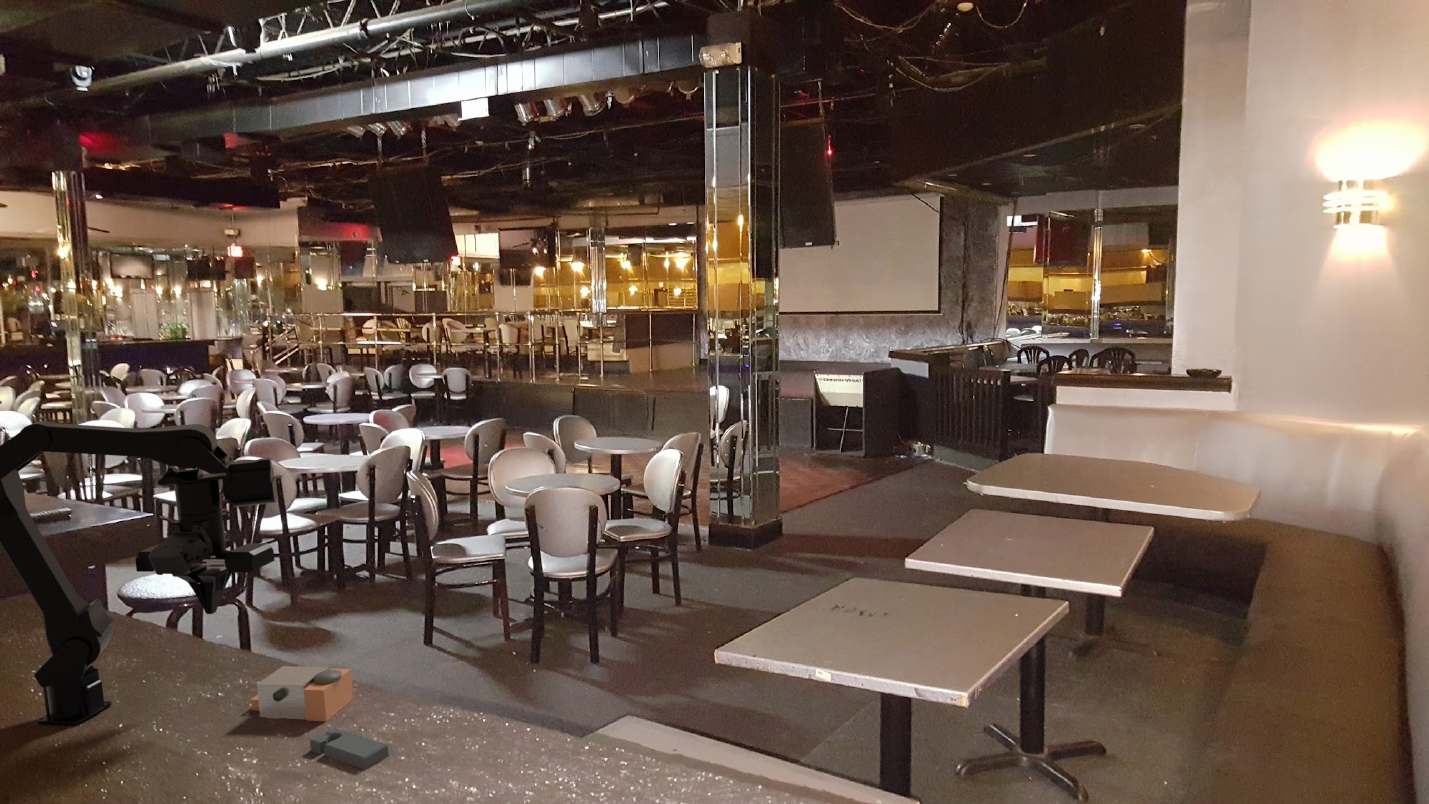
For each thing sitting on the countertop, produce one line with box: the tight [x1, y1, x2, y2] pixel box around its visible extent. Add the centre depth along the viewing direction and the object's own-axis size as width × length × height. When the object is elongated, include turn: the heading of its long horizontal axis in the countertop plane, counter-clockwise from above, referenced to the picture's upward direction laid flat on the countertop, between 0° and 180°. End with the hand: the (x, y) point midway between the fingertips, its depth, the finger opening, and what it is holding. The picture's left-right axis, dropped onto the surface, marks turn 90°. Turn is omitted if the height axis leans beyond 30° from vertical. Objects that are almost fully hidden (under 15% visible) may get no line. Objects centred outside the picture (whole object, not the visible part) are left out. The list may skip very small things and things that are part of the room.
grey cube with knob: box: [256, 665, 329, 720], centre depth 129 cm, size 7×7×5 cm
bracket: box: [309, 727, 390, 770], centre depth 116 cm, size 4×10×2 cm, turn 60°
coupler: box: [250, 668, 354, 722], centre depth 129 cm, size 13×7×5 cm, turn 82°
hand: (211, 613), depth 135 cm, fingers closed
